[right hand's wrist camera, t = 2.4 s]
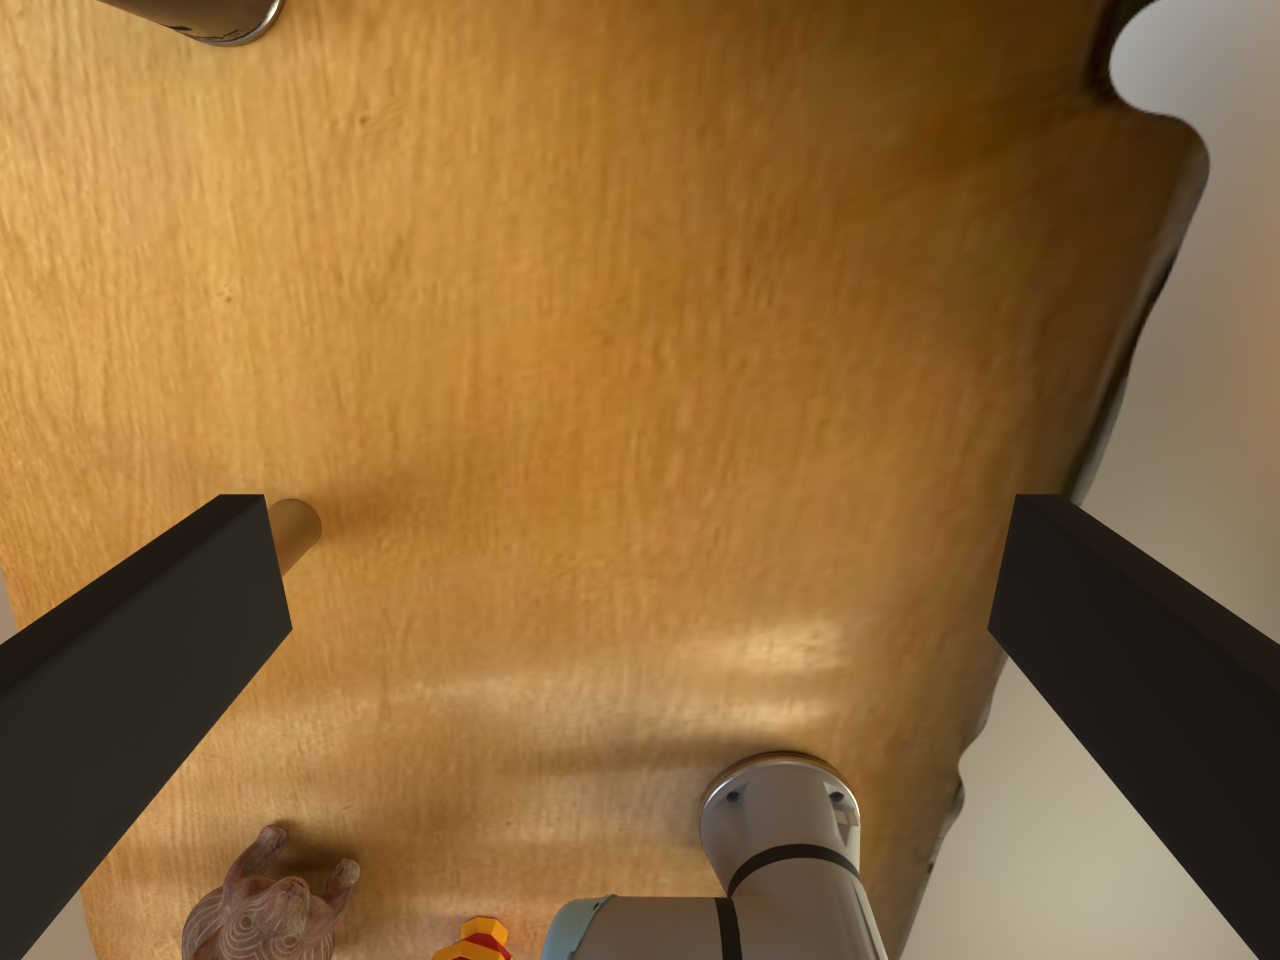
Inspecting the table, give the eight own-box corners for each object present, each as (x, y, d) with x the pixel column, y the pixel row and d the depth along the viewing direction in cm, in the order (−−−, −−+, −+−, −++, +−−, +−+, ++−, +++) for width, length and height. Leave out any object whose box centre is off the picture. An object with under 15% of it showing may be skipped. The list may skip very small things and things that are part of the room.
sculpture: (404, 806, 68) (342, 962, 54) (325, 961, 76) (254, 1131, 62) (264, 755, 66) (162, 904, 52) (198, 920, 74) (94, 1088, 60)
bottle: (256, 523, 57) (69, 678, 38) (288, 488, 56) (111, 630, 37) (300, 557, 58) (139, 724, 39) (332, 524, 57) (182, 679, 38)
